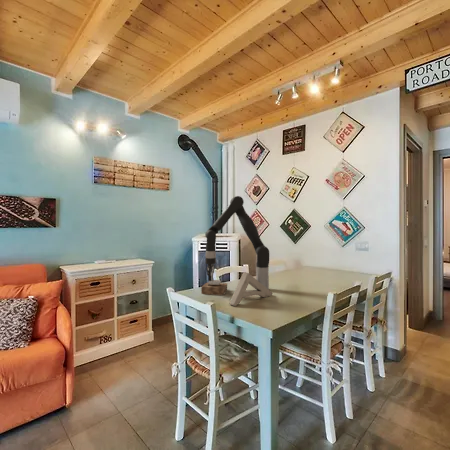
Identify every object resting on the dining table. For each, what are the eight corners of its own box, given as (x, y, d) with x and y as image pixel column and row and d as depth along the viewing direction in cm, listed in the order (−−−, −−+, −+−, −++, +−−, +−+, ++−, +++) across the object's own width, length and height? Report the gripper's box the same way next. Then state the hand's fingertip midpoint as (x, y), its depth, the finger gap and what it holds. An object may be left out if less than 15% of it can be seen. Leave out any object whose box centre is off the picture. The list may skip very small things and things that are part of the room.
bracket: (208, 284, 201) (208, 270, 201) (210, 283, 205) (209, 269, 205) (219, 284, 200) (219, 271, 199) (220, 283, 203) (220, 270, 203)
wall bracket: (260, 323, 184) (233, 305, 167) (255, 321, 187) (228, 303, 171) (272, 293, 192) (248, 272, 175) (267, 291, 195) (243, 271, 179)
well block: (227, 289, 208) (227, 283, 207) (223, 294, 194) (223, 287, 194) (206, 288, 211) (206, 282, 211) (201, 293, 197) (201, 286, 197)
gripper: (213, 258, 195) (213, 282, 195) (217, 256, 209) (217, 278, 209) (202, 258, 196) (203, 282, 197) (208, 255, 210) (208, 278, 211)
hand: (210, 280), depth 203 cm, fingers closed on bracket, 4 cm apart
